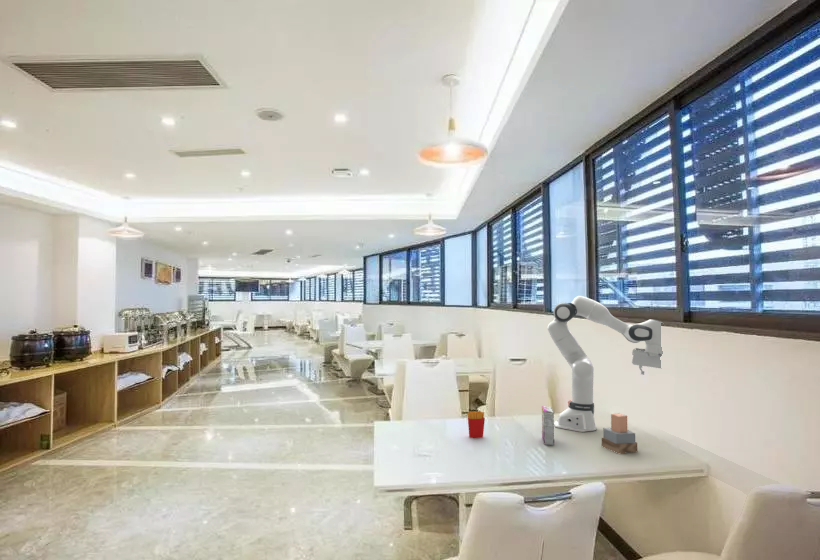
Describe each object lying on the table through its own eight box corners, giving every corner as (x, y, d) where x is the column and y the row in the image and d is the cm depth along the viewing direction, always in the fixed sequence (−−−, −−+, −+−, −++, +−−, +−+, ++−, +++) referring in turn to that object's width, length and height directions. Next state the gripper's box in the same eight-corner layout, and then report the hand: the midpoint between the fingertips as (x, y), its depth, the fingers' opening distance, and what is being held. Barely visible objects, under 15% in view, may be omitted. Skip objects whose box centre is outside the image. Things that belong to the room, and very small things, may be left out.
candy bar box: (541, 438, 227) (541, 405, 228) (551, 438, 226) (551, 406, 227) (543, 444, 216) (543, 411, 217) (554, 445, 215) (554, 411, 216)
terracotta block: (619, 432, 208) (619, 416, 209) (611, 429, 213) (611, 414, 213) (627, 431, 210) (627, 415, 211) (618, 428, 215) (618, 413, 215)
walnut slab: (618, 454, 204) (618, 444, 205) (601, 447, 215) (601, 437, 215) (637, 452, 208) (637, 442, 208) (619, 445, 218) (619, 435, 219)
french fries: (482, 434, 231) (482, 409, 231) (485, 437, 227) (485, 411, 227) (465, 435, 229) (466, 410, 229) (468, 438, 224) (469, 412, 225)
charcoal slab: (616, 443, 206) (616, 434, 206) (603, 437, 216) (603, 428, 216) (635, 443, 208) (635, 433, 208) (621, 436, 217) (621, 427, 218)
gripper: (632, 347, 239) (630, 372, 237) (675, 352, 228) (674, 379, 226) (633, 347, 244) (631, 372, 242) (676, 352, 233) (674, 379, 231)
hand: (652, 376), depth 234 cm, fingers open, 8 cm apart
